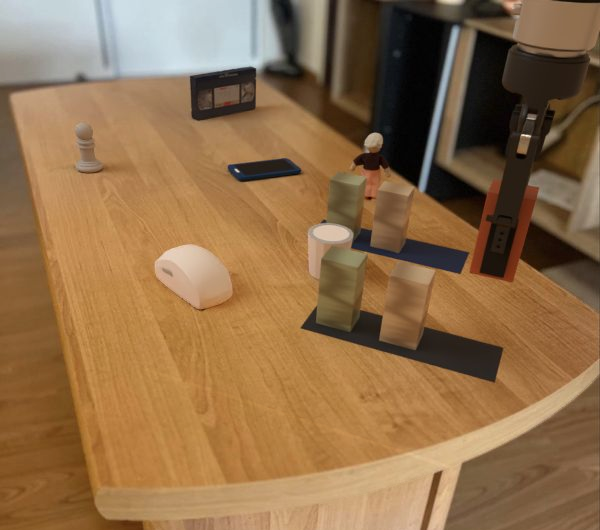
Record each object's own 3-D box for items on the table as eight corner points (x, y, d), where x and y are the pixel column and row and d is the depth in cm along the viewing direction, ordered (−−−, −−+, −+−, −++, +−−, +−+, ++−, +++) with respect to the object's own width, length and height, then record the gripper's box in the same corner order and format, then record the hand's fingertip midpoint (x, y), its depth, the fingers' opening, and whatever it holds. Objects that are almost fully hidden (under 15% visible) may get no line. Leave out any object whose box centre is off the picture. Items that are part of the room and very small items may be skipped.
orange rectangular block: (516, 267, 75) (539, 187, 69) (512, 282, 72) (536, 200, 66) (474, 258, 76) (493, 178, 70) (469, 273, 73) (487, 191, 67)
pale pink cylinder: (299, 279, 96) (301, 237, 92) (312, 259, 101) (315, 218, 97) (342, 288, 94) (346, 247, 90) (354, 267, 100) (359, 227, 95)
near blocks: (422, 334, 85) (436, 270, 79) (415, 350, 82) (429, 284, 76) (325, 308, 89) (331, 245, 83) (315, 323, 86) (320, 258, 80)
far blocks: (405, 243, 106) (414, 186, 100) (399, 253, 103) (408, 195, 97) (332, 226, 110) (338, 171, 104) (325, 236, 107) (329, 179, 101)
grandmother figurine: (385, 196, 123) (395, 131, 115) (387, 204, 120) (397, 138, 112) (346, 194, 123) (353, 128, 115) (347, 202, 120) (353, 135, 112)
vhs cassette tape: (196, 121, 153) (194, 77, 147) (190, 117, 155) (187, 74, 149) (257, 109, 163) (257, 68, 157) (250, 106, 165) (250, 65, 159)
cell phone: (226, 168, 130) (226, 164, 129) (287, 160, 135) (288, 157, 134) (239, 181, 124) (239, 177, 124) (302, 173, 130) (302, 169, 129)
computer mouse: (187, 263, 98) (184, 226, 94) (238, 299, 91) (238, 261, 87) (150, 276, 94) (147, 238, 91) (201, 315, 87) (199, 275, 83)
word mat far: (468, 254, 105) (469, 252, 105) (459, 276, 99) (460, 273, 99) (323, 221, 112) (323, 219, 112) (306, 239, 106) (306, 237, 106)
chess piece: (97, 174, 124) (91, 128, 118) (71, 172, 124) (63, 125, 119) (107, 164, 128) (101, 119, 123) (82, 162, 128) (74, 117, 123)
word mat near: (502, 349, 84) (503, 347, 84) (493, 384, 78) (494, 382, 78) (320, 301, 91) (321, 299, 91) (299, 330, 85) (300, 328, 85)
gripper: (520, 28, 67) (475, 229, 81) (497, 60, 54) (448, 291, 69) (595, 37, 65) (534, 241, 79) (589, 72, 52) (518, 308, 66)
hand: (494, 264), depth 74 cm, fingers closed on orange rectangular block, 4 cm apart
